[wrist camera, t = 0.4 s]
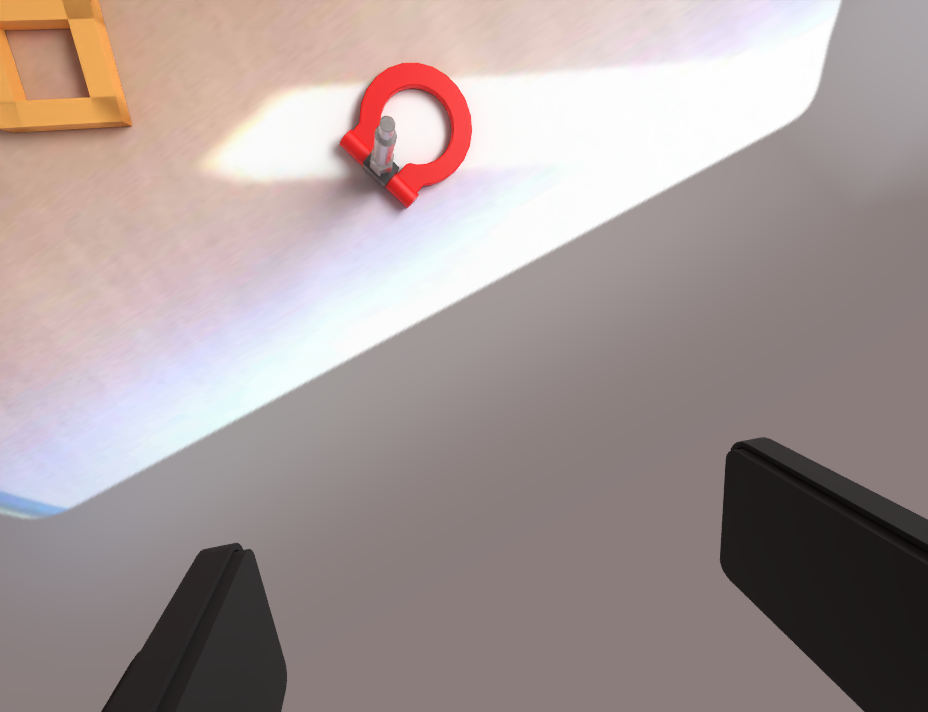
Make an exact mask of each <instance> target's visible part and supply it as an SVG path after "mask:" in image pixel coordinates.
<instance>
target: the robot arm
mask: <svg viewBox="0 0 928 712" xmlns="http://www.w3.org/2000/svg"><path fill="white" fill-rule="evenodd" d="M725 466H726V467H725V483H724V500H723V517H722V533H721V552H720V563H721V566H722V569H723V571H724V573H725V574H726V576H727V577H728V578H729V580H730V581H732V583H734V584H735V585H736V587H738V588H739V589H740V590H741V591H742V592H743V593H744V594H745V595H746V596H747V597H748V598H749V599H750V600H751V601H752V602H753V603H754V604H755V605H756V606H757V607H758V608H759V609H760V610H761V611H762V612H763V613H764V614H765V615H766V616H767V617H768V618H769V619H770V620H771V621H772V622H773V623H774V624H775V625H776V626H777V627H778V628H779V629H780V630H782V631H783V632H784V633H785V634H786V635H787V636H788V637H789V638H790V639H791V640H792V641H793V642H794V643H795V644H796V645H797V646H798V647H799V648H800V649H801V650H802V651H803V652H804V653H805V654H806V655H807V656H808V657H809V658H810V659H811V660H812V661H813V662H814V663H815V664H816V665H817V666H818V667H819V668H820V669H821V670H822V671H823V672H824V673H825V674H826V675H827V676H829V677H830V678H831V679H832V680H833V681H834V682H835V683H836V684H837V685H838V686H839V687H840V688H841V689H842V690H843V691H844V692H845V693H846V694H847V695H848V696H849V697H850V698H851V699H852V700H853V701H854V702H855V703H856V704H857V705H858V706H859V707H860V708H861V709H862V710H863V711H864V712H928V520H927V519H925V518H923V517H921V516H920V515H918V514H916V513H914V512H912V511H910V510H908V509H906V508H904V507H902V506H900V505H898V504H896V503H894V502H892V501H890V500H888V499H886V498H884V497H882V496H880V495H879V494H877V493H875V492H873V491H871V490H869V489H867V488H865V487H863V486H861V485H859V484H857V483H855V482H853V481H851V480H849V479H847V478H845V477H843V476H841V475H839V474H837V473H835V472H834V471H831V470H830V469H828V468H826V467H824V466H822V465H820V464H818V463H816V462H814V461H812V460H810V459H808V458H806V457H804V456H802V455H800V454H798V453H796V452H794V451H793V450H791V449H789V448H787V447H785V446H783V445H781V444H779V443H777V442H775V441H773V440H771V439H768V438H765V437H763V438H756V439H751V440H746V441H741V442H737V443H735V444H734V445H733V446H732V448H731V451H730V452H728V454H727V456H726V465H725ZM286 684H287V671H286V664H285V660H284V656H283V653H282V650H281V646H280V642H279V639H278V636H277V632H276V629H275V625H274V621H273V618H272V615H271V611H270V607H269V604H268V600H267V597H266V593H265V590H264V586H263V583H262V580H261V576H260V572H259V569H258V566H257V562H256V559H255V555H254V553H253V551H252V550H251V549H247V550H243V548H242V546H241V545H240V544H239V543H233V544H228V545H223V546H218V547H213V548H208V549H204V550H202V551H200V553H199V554H198V555H197V556H196V558H195V560H194V562H193V563H192V565H191V567H190V568H189V570H188V572H187V573H186V575H185V577H184V578H183V580H182V582H181V584H180V585H179V587H178V589H177V590H176V592H175V594H174V595H173V597H172V599H171V601H170V602H169V604H168V606H167V607H166V609H165V611H164V612H163V614H162V616H161V617H160V619H159V621H158V622H157V624H156V626H155V628H154V629H153V631H152V633H151V634H150V636H149V638H148V639H147V641H146V643H145V644H144V646H143V648H142V650H141V651H140V652H139V653H138V654H137V655H136V656H135V658H134V659H133V660H132V662H131V663H130V665H129V666H128V668H127V670H126V671H125V673H124V675H123V676H122V678H121V680H120V681H119V683H118V685H117V686H116V688H115V690H114V691H113V693H112V695H111V696H110V698H109V700H108V702H107V703H106V705H105V706H104V708H103V710H102V711H101V712H281V709H282V704H283V700H284V695H285V691H286Z"/></svg>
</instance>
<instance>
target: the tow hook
mask: <svg viewBox="0 0 928 712" xmlns="http://www.w3.org/2000/svg"><path fill="white" fill-rule="evenodd" d="M416 88H417V89H421V90H424V91H427V92H429V93H431V94H432V95H434V96H435V97H436V98H437V99H438V100H439V101H440V102H441V103H442V104H443V106H444V107H445V109H446V110H447V112H448V115H449V118H450V121H451V138H450V143H449V145H448V147H447V150H446V151H445V152H444V154H443V155H442V156H441V157H439V158H438V159H437V160H435V161H433V162H431V163H428V164H420V165H416V164H411V163H409V164H406V165H405V166H404V168H403V169H402V170H401V171H400V172H399V173H398V174H397V172H398V169H399V167H398V166H397V165H396V164H395V163H394V162H393V158H394V154H393V150H394V146H395V142H396V138H397V135H396V131H395V122H394V120H393V118H391V117H389V116H384V117H382V118H381V114H382V111H383V108H384V106H385V104H386V103H387V102H388V100H389V99H390V98H391V97H392V96H393V95H395V94H396V93H397V92H399V91H402V90H405V89H416ZM359 122H360V123H359V124H358V125H357V126H356V127H355V129H354V130H353V131H352V130H350V131H348V132H347V133H346V134H345V135H344V137H343V138H342V140H341V142H340V146H342V147H343V148H344V149H345V150H346V151H347V152H348V153H349V154H350V155H351V156H352V157H353V158H354V159H355V160H356V161H357V162H359V163H360V164H361V165H362V166H363V169H364V170H365V171H366V172H367V173H368V174H369V175H371V176H372V177H373V178H374V179H375V180H376V181H377V182H378V183H379V184H380V185H381V186H382V187H383V188H386V189H387V190H388V191H389V192H391V193H392V194H393V195H394V196H395V197H396V198H397V199H398V200H399V201H400V202H401V203H402V204H403V205H404V206H405V207H406V208H408V207H409V206H411V205H412V203H413V202H414V201H415V200H416V199H417V197H418V195H419V194H418V193H417V192H418V191H419V190H420V189H421V188H422V187H423V186H430V185H433V184H435V183H438V182H441V181H443V180H444V179H446V178H447V177H448V176H450V175H451V174H452V173H454V172H455V171H456V169H457V168H458V167H459V166H460V164H461V163H462V162H463V160H464V159H465V156H466V154H467V151H468V149H469V147H470V141H471V134H472V125H471V115H470V112H469V109H468V106H467V103H466V100H465V98H464V96H463V95H462V93H461V92H460V90H459V88H458V87H457V85H456V84H455V83H454V82H453V81H452V80H451V79H450V78H449V77H448V76H447V75H445V74H444V73H442V72H440V71H439V70H437V69H435V68H434V67H431V66H427V65H424V64H420V63H402V64H399V65H396V66H393V67H390V68H388V69H386V70H385V71H383V72H382V73H381V74H379V75H378V76H377V77H376V78H375V79H374V80H373V82H372V83H371V84H370V86H369V87H368V88H367V90H366V93H365V95H364V98H363V101H362V103H361V110H360V119H359Z"/></svg>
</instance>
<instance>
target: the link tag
mask: <svg viewBox="0 0 928 712" xmlns="http://www.w3.org/2000/svg"><path fill="white" fill-rule="evenodd" d="M65 28H70V29H71V32H72V36H73V39H74V43H75V46H76V49H77V53H78V56H79V60H80V63H81V67H82V70H83V74H84V77H85V80H86V84H87V87H88V91H89V94H90V97H89V98H69V99H49V100H28V101H27V99H26V96H25V93H24V90H23V87H22V84H21V81H20V77H19V74H18V71H17V68H16V65H15V62H14V59H13V56H12V53H11V50H10V47H9V44H8V41H7V37H6V34H5V31H4V30H30V29H65ZM120 126H132V123H131V119H130V116H129V112H128V108H127V105H126V101H125V97H124V94H123V90H122V86H121V83H120V79H119V75H118V72H117V68H116V64H115V60H114V57H113V53H112V49H111V46H110V42H109V38H108V35H107V31H106V27H105V24H104V20H103V16H102V13H101V9H100V5H99V2H98V0H0V129H1V130H4V131H7V132H11V133H18V132H35V131H52V130H69V129H86V128H103V127H120Z"/></svg>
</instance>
